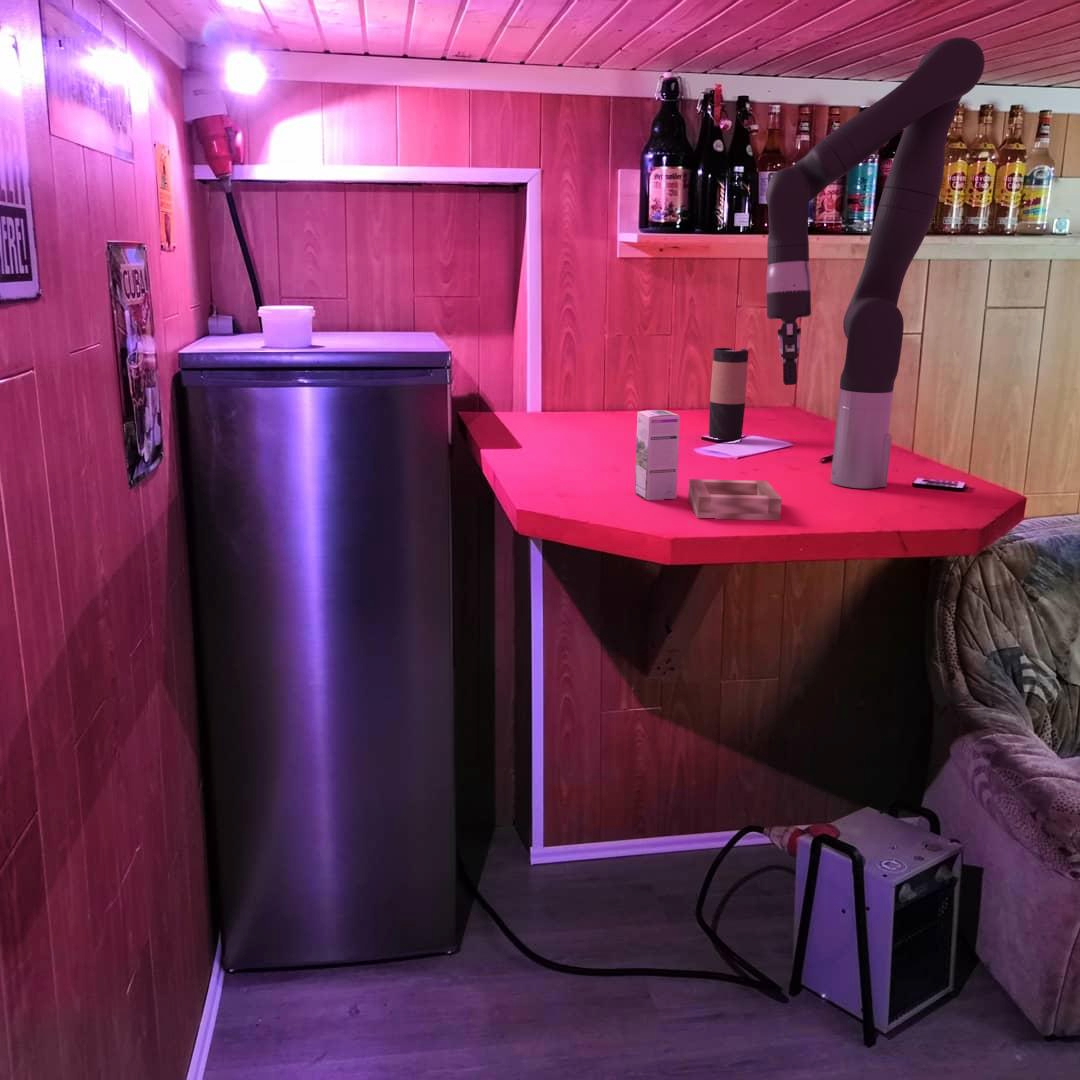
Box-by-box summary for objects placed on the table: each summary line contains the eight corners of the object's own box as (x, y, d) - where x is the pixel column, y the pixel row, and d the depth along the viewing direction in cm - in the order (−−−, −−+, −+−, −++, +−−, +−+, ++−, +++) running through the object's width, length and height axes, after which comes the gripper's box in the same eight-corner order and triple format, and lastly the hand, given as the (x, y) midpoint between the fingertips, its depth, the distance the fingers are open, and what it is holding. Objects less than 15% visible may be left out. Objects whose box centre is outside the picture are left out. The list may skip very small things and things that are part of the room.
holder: (765, 501, 178) (766, 480, 177) (780, 520, 166) (781, 498, 165) (688, 499, 178) (689, 479, 177) (697, 518, 166) (698, 496, 165)
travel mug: (716, 444, 229) (722, 351, 224) (702, 438, 236) (707, 347, 231) (748, 443, 231) (755, 351, 226) (733, 437, 238) (739, 347, 233)
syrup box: (677, 499, 178) (682, 414, 174) (645, 501, 177) (649, 415, 173) (664, 492, 183) (668, 409, 180) (632, 493, 182) (636, 410, 178)
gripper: (812, 286, 175) (813, 384, 178) (809, 290, 189) (810, 382, 192) (766, 289, 177) (767, 386, 180) (766, 293, 191) (768, 384, 193)
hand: (789, 384), depth 186 cm, fingers open, 8 cm apart
